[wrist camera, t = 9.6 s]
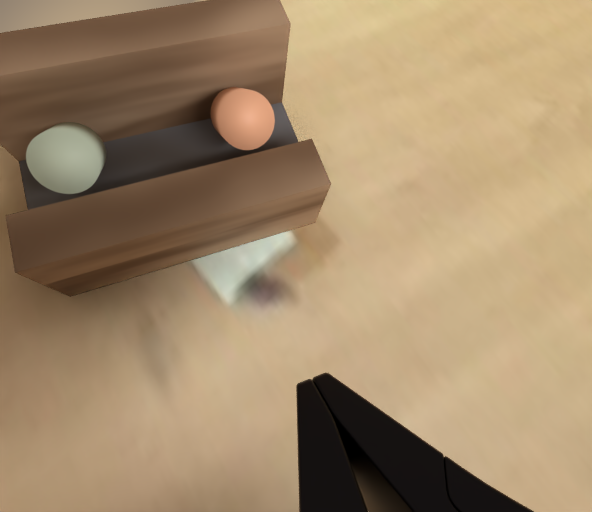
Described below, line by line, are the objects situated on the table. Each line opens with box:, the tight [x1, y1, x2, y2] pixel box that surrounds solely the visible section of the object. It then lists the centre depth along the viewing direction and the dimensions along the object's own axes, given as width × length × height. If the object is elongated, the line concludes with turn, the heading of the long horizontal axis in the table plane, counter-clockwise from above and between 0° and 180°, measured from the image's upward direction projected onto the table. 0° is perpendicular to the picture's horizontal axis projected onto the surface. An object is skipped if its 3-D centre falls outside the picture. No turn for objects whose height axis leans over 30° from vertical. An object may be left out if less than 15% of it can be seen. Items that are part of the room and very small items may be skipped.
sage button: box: [26, 122, 107, 194], centre depth 19 cm, size 4×3×4 cm
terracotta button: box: [210, 87, 275, 150], centre depth 21 cm, size 4×3×4 cm
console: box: [0, 0, 331, 296], centre depth 21 cm, size 10×16×9 cm, turn 110°
